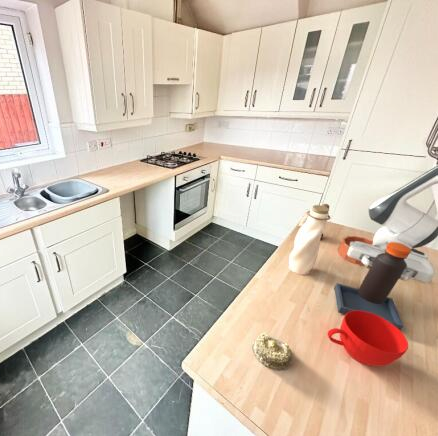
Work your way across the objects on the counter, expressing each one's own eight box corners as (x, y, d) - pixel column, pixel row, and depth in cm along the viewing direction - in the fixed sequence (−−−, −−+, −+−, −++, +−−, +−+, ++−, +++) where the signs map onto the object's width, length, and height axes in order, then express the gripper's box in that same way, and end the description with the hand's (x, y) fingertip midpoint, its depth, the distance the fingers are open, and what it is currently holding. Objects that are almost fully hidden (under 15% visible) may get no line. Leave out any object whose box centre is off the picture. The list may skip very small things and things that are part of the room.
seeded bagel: (289, 379, 63) (294, 368, 60) (248, 360, 68) (252, 349, 65) (292, 346, 70) (297, 335, 67) (255, 331, 75) (258, 320, 72)
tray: (388, 303, 83) (392, 298, 82) (400, 332, 74) (404, 326, 73) (334, 288, 90) (336, 282, 89) (338, 312, 81) (341, 307, 79)
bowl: (374, 252, 109) (380, 241, 106) (381, 270, 98) (388, 258, 95) (336, 243, 115) (341, 233, 112) (340, 260, 104) (345, 248, 101)
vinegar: (385, 296, 79) (417, 246, 70) (382, 308, 75) (415, 257, 66) (359, 285, 84) (385, 237, 74) (355, 296, 80) (382, 246, 70)
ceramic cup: (309, 329, 75) (319, 307, 70) (368, 334, 73) (383, 311, 69) (332, 372, 64) (347, 349, 59) (403, 379, 62) (423, 356, 57)
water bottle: (279, 262, 103) (297, 203, 90) (294, 258, 106) (314, 199, 93) (300, 278, 95) (323, 215, 82) (316, 272, 98) (341, 211, 84)
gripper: (354, 233, 87) (347, 250, 79) (436, 256, 75) (439, 280, 66) (347, 247, 90) (340, 265, 82) (425, 272, 78) (427, 296, 69)
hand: (385, 272), depth 74 cm, fingers closed on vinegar, 6 cm apart
